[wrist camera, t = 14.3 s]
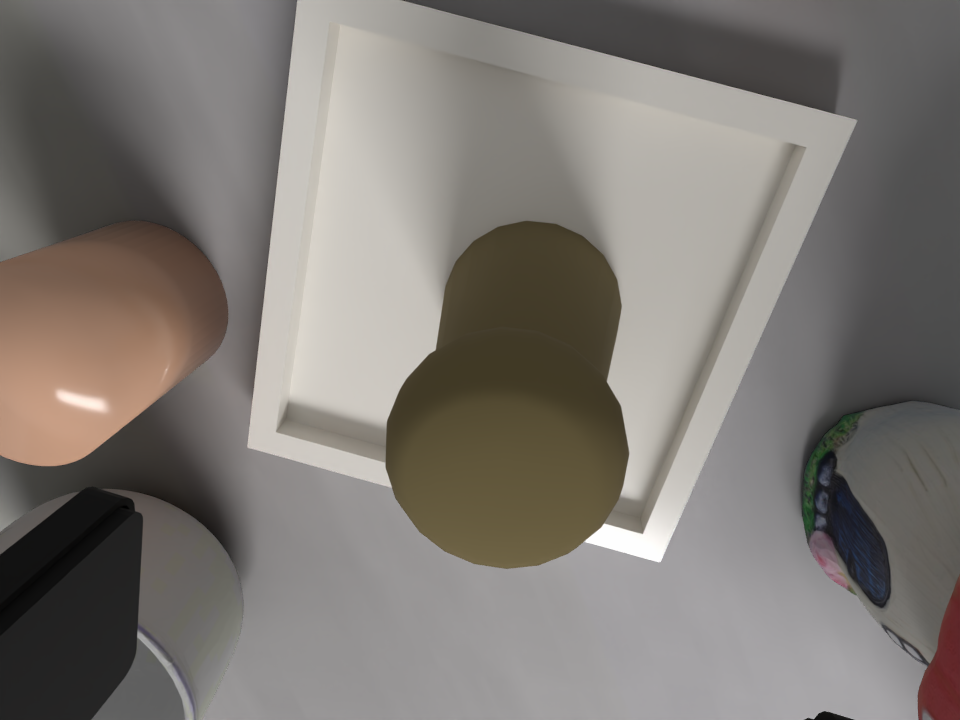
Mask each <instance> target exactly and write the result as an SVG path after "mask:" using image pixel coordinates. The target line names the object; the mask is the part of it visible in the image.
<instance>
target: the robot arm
mask: <svg viewBox="0 0 960 720" xmlns="http://www.w3.org/2000/svg"><path fill="white" fill-rule="evenodd" d="M142 535H143V516H142V514H141V513H139V512H136V511H135V504H134V502H133V500H132V499H130V498H128V497H125V496H121V495H118V494H115V493H112V492H108V491H105V490H102V489H98V488H95V487H88V488H85V489H84V490H82V491H80V492H79V493H78V494H77V495H75V496H74V497H73V498H71V499H70V500H69V501H68V502H66V503H65V504H64V505H63V506H61V507H60V508H59V509H57V510H56V511H55V512H54V513H52V514H51V515H50V516H49V517H47V518H46V519H45V520H43V521H42V522H41V523H40V524H38V525H37V526H36V527H35V528H33V529H32V530H31V531H29V532H28V533H27V534H26V535H24V536H23V537H22V538H21V539H19V540H18V541H17V542H15V543H14V544H13V545H12V546H10V547H9V548H8V549H7V550H5V551H4V552H3V553H1V554H0V720H92V718H93V717H94V716H95V715H96V713H97V712H98V711H99V710H100V708H101V707H102V706H103V704H104V703H105V702H106V701H107V699H108V698H109V697H110V696H111V694H112V693H113V692H114V691H115V689H116V688H117V687H118V686H119V684H120V683H121V682H122V681H123V679H124V678H125V676H126V675H127V673H128V672H129V670H130V668H131V666H132V664H133V661H134V659H135V655H136V650H137V632H138V613H139V593H140V574H141V555H142ZM805 720H853V719H850V718H847V717H843V716H840V715H837V714H833V713H830V712H826V711H824V712H821V713H819V714H818V715H817V716H816V718H815V719H810V718H807V719H805Z"/></svg>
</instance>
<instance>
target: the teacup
mask: <svg viewBox="0 0 960 720" xmlns="http://www.w3.org/2000/svg"><path fill="white" fill-rule="evenodd" d="M102 490H105V491H108V492H112V493H115V494H118V495H121V496H125V497H128V498H130V499H132V500H133V502H134V504H135V511H136V512H139V513H141V514H142V516H143V535H142V555H141V574H140V593H139V613H138V632H137V650H136V655H135V659H134V661H133V664H132V666H131V668H130V670H129V672H128V673H127V675H126V676H125V678H124V679H123V681H122V682H121V683H120V684H119V686H118V687H117V688H116V689H115V691H114V692H113V693H112V694H111V696H110V697H109V698H108V699H107V701H106V702H105V703H104V704H103V706H102V707H101V708H100V710H99V711H98V712H97V713H96V715H95V716H94V717H93V718H92V720H202V719H203V717H204V715H205V713H206V711H207V709H208V707H209V705H210V703H211V701H212V699H213V697H214V695H215V693H216V691H217V689H218V687H219V685H220V683H221V681H222V679H223V676H224V674H225V672H226V669H227V667H228V665H229V663H230V660H231V658H232V656H233V653H234V651H235V648H236V645H237V642H238V639H239V635H240V632H241V627H242V620H243V612H244V600H243V594H242V588H241V583H240V579H239V576H238V574H237V571H236V568H235V566H234V564H233V563H232V561H231V559H230V557H229V555H228V553H227V552H226V550H225V549H224V548H223V546H222V545H221V543H220V542H219V541H218V540H217V539H216V537H215V536H214V535H213V534H212V533H211V532H210V531H209V530H208V529H207V528H206V527H205V526H204V525H203V524H201V523H200V522H199V521H197V520H196V519H195V518H193V517H192V516H191V515H189V514H187V513H186V512H184V511H182V510H181V509H179V508H177V507H175V506H174V505H172V504H170V503H168V502H165V501H163V500H160V499H158V498H155V497H152V496H149V495H145V494H142V493H138V492H133V491H127V490H119V489H102ZM79 492H80V491H79ZM79 492H74V493H70V494H67V495H63V496H61V497H58V498H55V499H53V500H50V501H48V502H46V503H43V504H42V505H40V506H38V507H36V508H34V509H33V510H31V511H29V512H28V513H26V514H25V515H23V516H22V517H20V518H19V519H17V520H16V521H14V522H13V523H11V524H10V525H9V526H8V527H6V528H5V529H4V530H2V531H1V532H0V554H1V553H3V552H4V551H5V550H7V549H8V548H9V547H10V546H12V545H13V544H14V543H15V542H17V541H18V540H19V539H21V538H22V537H23V536H24V535H26V534H27V533H28V532H29V531H31V530H32V529H33V528H35V527H36V526H37V525H38V524H40V523H41V522H42V521H43V520H45V519H46V518H47V517H49V516H50V515H51V514H52V513H54V512H55V511H56V510H57V509H59V508H60V507H61V506H63V505H64V504H65V503H66V502H68V501H69V500H70V499H71V498H73V497H74V496H75V495H77V494H78V493H79Z"/></svg>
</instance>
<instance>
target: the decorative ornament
mask: <svg viewBox="0 0 960 720" xmlns="http://www.w3.org/2000/svg"><path fill="white" fill-rule="evenodd" d="M802 516H803V522H804V528H805V533H806V538H807V543H808V545H809V548H810V550H811V552H812V554H813V557H814V558H815V559H816V561H817V562H818V564H819V565H820V566H821V568H822V569H823V570H824V572H825V573H826V574H827V575H828V576H829V577H830V578H831V579H832V580H834V581H835V582H836V583H838V584H839V585H841V586H843V587H844V588H846V589H847V590H848V591H850V592H851V593H853V594H855V595H857V596H858V597H859V599H860V600H861V602H862V603H863V605H864V606H865V607H866V609H867V610H868V611H869V613H870V614H871V615H872V617H873V618H874V619H875V620H876V621H877V622H878V623H879V624H880V626H881V627H882V628H883V629H884V630H885V632H886V633H887V634H888V635H889V636H890V638H891V639H892V640H893V641H894V642H895V643H896V644H897V645H899V646H900V647H901V648H902V649H903V650H904V651H906V652H907V653H908V654H909V655H910V656H912V657H913V658H914V659H916V660H917V661H919V662H920V663H922V664H923V665H925V666H927V669H926V670H925V673H924V676H923V679H922V682H921V685H920V687H919V692H918V718H919V720H960V410H958V409H954V408H949V407H945V406H940V405H936V404H933V403H927V402H919V401H908V402H904V403H899V404H894V405H890V406H884V407H879V408H874V409H869V410H865V411H862V412H858V413H853V414H849V415H844V416H843V417H842V418H841V420H840V421H839V422H838V424H837V425H836V426H835V427H833V428H832V429H830V430H829V431H828V432H827V433H826V434H825V435H824V436H823V438H822V439H821V441H820V442H819V444H818V445H817V447H816V448H815V450H814V451H813V452H812V455H811V457H810V459H809V461H808V463H807V466H806V468H805V473H804V484H803V504H802Z"/></svg>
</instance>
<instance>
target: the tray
mask: <svg viewBox="0 0 960 720" xmlns="http://www.w3.org/2000/svg"><path fill="white" fill-rule="evenodd" d="M857 121H858V120H856V119H852V118H848V117H844V116H840V115H837V114H833V113H829V112H825V111H821V110H818V109H814V108H810V107H806V106H802V105H798V104H795V103H791V102H787V101H783V100H779V99H776V98H772V97H768V96H764V95H760V94H757V93H753V92H749V91H745V90H741V89H738V88H734V87H730V86H726V85H722V84H718V83H715V82H711V81H707V80H703V79H699V78H696V77H692V76H688V75H684V74H680V73H677V72H673V71H669V70H665V69H661V68H658V67H654V66H650V65H646V64H642V63H638V62H635V61H631V60H627V59H623V58H619V57H616V56H612V55H608V54H604V53H600V52H597V51H593V50H589V49H585V48H581V47H578V46H574V45H570V44H566V43H562V42H558V41H555V40H551V39H547V38H543V37H539V36H536V35H532V34H528V33H524V32H520V31H517V30H513V29H509V28H505V27H501V26H498V25H494V24H490V23H486V22H482V21H478V20H475V19H471V18H467V17H463V16H459V15H456V14H452V13H448V12H444V11H440V10H437V9H433V8H429V7H425V6H421V5H418V4H414V3H410V2H406V1H402V0H297V9H296V18H295V27H294V36H293V45H292V53H291V62H290V71H289V80H288V89H287V98H286V107H285V116H284V125H283V134H282V143H281V152H280V161H279V170H278V179H277V187H276V196H275V205H274V214H273V223H272V232H271V241H270V250H269V259H268V268H267V277H266V286H265V295H264V304H263V312H262V321H261V330H260V339H259V348H258V357H257V366H256V375H255V384H254V393H253V402H252V411H251V420H250V429H249V437H248V446H247V447H248V448H251V449H255V450H258V451H262V452H266V453H269V454H273V455H276V456H280V457H283V458H287V459H291V460H294V461H298V462H301V463H305V464H309V465H312V466H316V467H319V468H323V469H326V470H330V471H334V472H337V473H341V474H344V475H348V476H352V477H355V478H359V479H362V480H366V481H369V482H373V483H377V484H380V485H384V486H387V487H391V488H392V486H391V483H390V480H389V477H388V474H387V471H386V468H385V464H386V428H387V420H388V417H389V415H390V412H391V410H392V407H393V405H394V402H395V400H396V398H397V395H398V393H399V390H400V389H401V387H402V385H403V383H404V382H405V380H406V379H407V377H408V376H409V375H410V374H411V373H412V372H413V371H414V370H415V369H416V368H417V367H418V366H419V364H420V363H421V362H422V361H423V360H424V359H425V358H426V357H427V356H428V355H429V354H430V353H432V352H433V351H435V350H436V344H437V338H438V331H439V324H440V318H441V311H442V305H443V298H444V292H445V286H446V283H447V281H448V279H449V276H450V274H451V271H452V269H453V266H454V264H455V262H456V260H457V259H458V258H459V257H460V256H461V255H462V254H463V252H464V251H465V250H466V249H467V248H468V247H469V246H470V244H471V243H472V242H473V241H474V240H476V239H478V238H479V237H481V236H483V235H485V234H486V233H488V232H490V231H492V230H493V229H495V228H497V227H499V226H504V225H508V224H513V223H518V222H522V221H535V222H544V223H554V224H557V225H560V226H562V227H564V228H566V229H569V230H571V231H573V232H575V233H578V234H580V235H582V236H583V237H585V238H586V239H587V240H588V241H589V242H590V243H591V244H592V245H593V246H594V247H596V248H597V249H598V250H599V251H600V252H601V253H602V254H603V255H604V256H605V258H606V260H607V262H608V264H609V265H610V267H611V269H612V271H613V273H614V274H615V276H616V278H617V281H618V287H619V292H620V298H621V304H622V309H621V315H620V321H619V326H618V332H617V337H616V342H615V346H614V351H613V355H612V360H611V365H610V369H609V374H608V378H607V383H608V385H609V386H610V388H611V390H612V391H613V393H614V395H615V397H616V398H617V400H618V402H619V403H620V405H621V409H622V414H623V420H624V425H625V431H626V436H627V442H628V448H629V459H628V464H627V469H626V474H625V480H624V485H623V488H622V491H621V494H620V497H619V500H618V502H617V503H616V505H615V506H614V508H613V510H612V511H611V513H610V514H609V516H608V518H607V519H606V521H605V523H604V524H603V526H602V527H601V528H600V529H599V530H598V531H596V532H595V533H594V534H593V535H592V536H590V537H589V538H588V539H587V540H585V542H588V543H592V544H595V545H599V546H602V547H606V548H610V549H613V550H617V551H620V552H624V553H628V554H631V555H635V556H638V557H642V558H646V559H649V560H653V561H656V562H660V561H661V559H662V557H663V555H664V553H665V550H666V548H667V546H668V544H669V541H670V539H671V537H672V535H673V532H674V530H675V528H676V526H677V523H678V521H679V519H680V517H681V514H682V512H683V510H684V508H685V506H686V503H687V501H688V499H689V497H690V494H691V492H692V490H693V488H694V485H695V483H696V481H697V479H698V476H699V474H700V472H701V470H702V467H703V465H704V463H705V461H706V459H707V456H708V454H709V452H710V450H711V447H712V445H713V443H714V441H715V438H716V436H717V434H718V432H719V429H720V427H721V425H722V423H723V420H724V418H725V416H726V414H727V412H728V409H729V407H730V405H731V403H732V400H733V398H734V396H735V394H736V391H737V389H738V387H739V385H740V382H741V380H742V378H743V376H744V373H745V371H746V369H747V367H748V365H749V362H750V360H751V358H752V356H753V353H754V351H755V349H756V347H757V344H758V342H759V340H760V338H761V335H762V333H763V331H764V329H765V327H766V324H767V322H768V320H769V318H770V315H771V313H772V311H773V309H774V306H775V304H776V302H777V300H778V297H779V295H780V293H781V291H782V288H783V286H784V284H785V282H786V280H787V277H788V275H789V273H790V271H791V268H792V266H793V264H794V262H795V259H796V257H797V255H798V253H799V250H800V248H801V246H802V244H803V241H804V239H805V237H806V235H807V233H808V230H809V228H810V226H811V224H812V221H813V219H814V217H815V215H816V212H817V210H818V208H819V206H820V203H821V201H822V199H823V197H824V194H825V192H826V190H827V188H828V186H829V183H830V181H831V179H832V177H833V174H834V172H835V170H836V168H837V165H838V163H839V161H840V159H841V156H842V154H843V152H844V150H845V147H846V145H847V143H848V141H849V139H850V136H851V134H852V132H853V130H854V127H855V125H856V123H857Z"/></svg>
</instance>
